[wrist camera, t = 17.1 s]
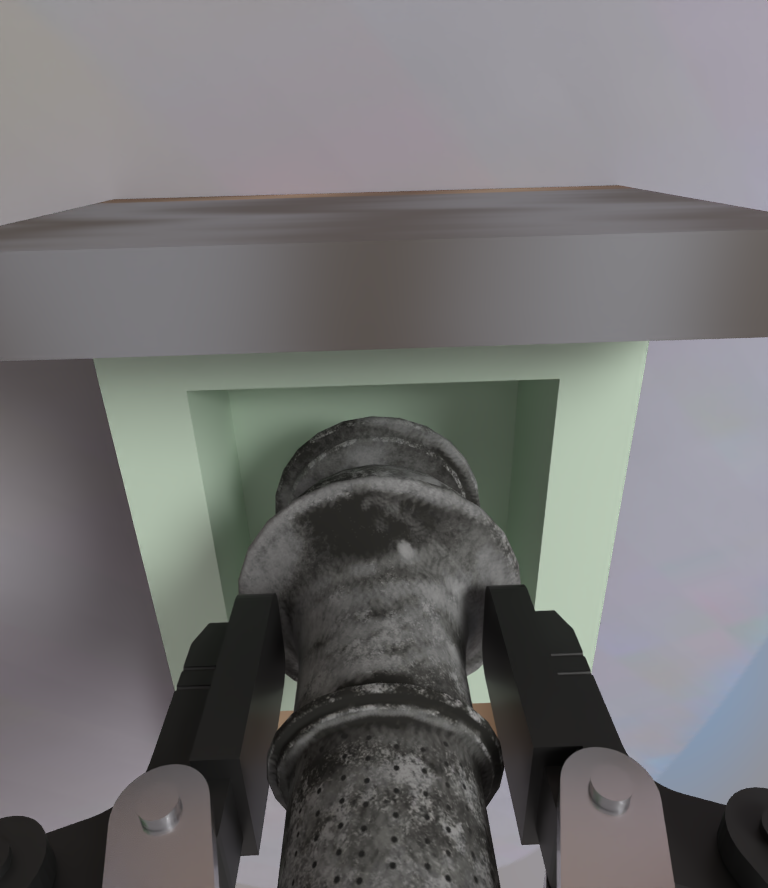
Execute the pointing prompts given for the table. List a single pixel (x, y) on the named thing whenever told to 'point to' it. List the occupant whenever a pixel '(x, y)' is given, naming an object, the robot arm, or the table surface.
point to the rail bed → (380, 274)
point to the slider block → (383, 395)
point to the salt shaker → (382, 659)
